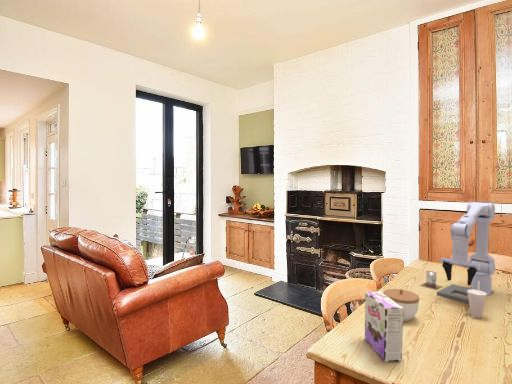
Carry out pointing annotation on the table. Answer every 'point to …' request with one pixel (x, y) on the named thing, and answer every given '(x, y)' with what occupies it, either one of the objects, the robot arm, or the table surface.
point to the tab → (431, 287)
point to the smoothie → (476, 301)
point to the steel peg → (431, 279)
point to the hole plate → (452, 289)
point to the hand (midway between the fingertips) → (459, 282)
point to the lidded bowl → (404, 301)
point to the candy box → (384, 326)
